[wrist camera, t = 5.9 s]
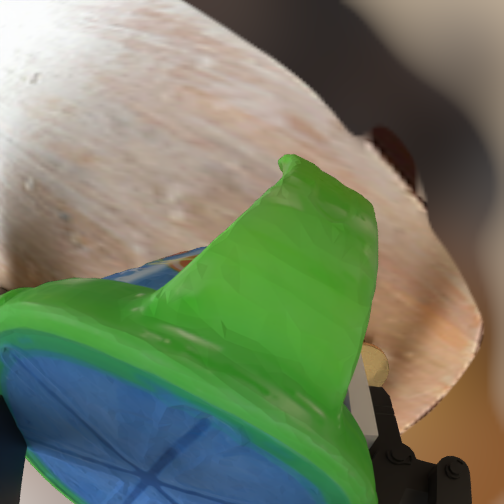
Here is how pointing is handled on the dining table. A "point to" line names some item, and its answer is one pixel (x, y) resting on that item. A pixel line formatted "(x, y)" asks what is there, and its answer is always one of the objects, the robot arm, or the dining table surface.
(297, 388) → the snack cup
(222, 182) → the dining table surface
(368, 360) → the balance
